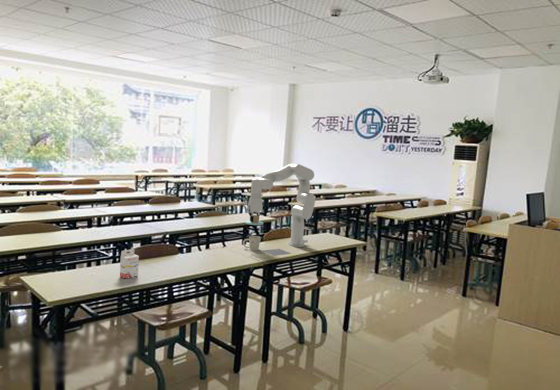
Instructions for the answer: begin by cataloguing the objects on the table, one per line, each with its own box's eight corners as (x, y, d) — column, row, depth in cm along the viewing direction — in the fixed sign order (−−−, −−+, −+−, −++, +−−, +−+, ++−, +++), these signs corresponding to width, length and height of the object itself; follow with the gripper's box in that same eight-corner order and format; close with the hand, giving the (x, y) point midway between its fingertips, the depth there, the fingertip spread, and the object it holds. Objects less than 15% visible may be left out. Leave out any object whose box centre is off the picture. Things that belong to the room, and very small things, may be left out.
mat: (279, 250, 329) (279, 248, 329) (291, 254, 317) (291, 253, 317) (262, 251, 320) (262, 250, 320) (274, 256, 308) (274, 255, 308)
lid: (256, 221, 328) (257, 213, 328) (266, 224, 318) (267, 216, 317) (241, 222, 321) (242, 214, 320) (251, 225, 310) (252, 217, 310)
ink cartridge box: (124, 279, 241) (125, 252, 239) (119, 277, 244) (120, 250, 242) (138, 276, 247) (139, 250, 246) (133, 274, 250) (134, 248, 249)
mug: (259, 252, 318) (260, 238, 317) (241, 251, 318) (242, 237, 317) (260, 249, 326) (260, 236, 325) (243, 248, 326) (243, 235, 325)
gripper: (262, 195, 325) (261, 220, 327) (243, 195, 315) (241, 221, 317) (268, 196, 319) (266, 221, 321) (248, 196, 309) (247, 222, 311)
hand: (254, 221), depth 319 cm, fingers closed on lid, 4 cm apart
